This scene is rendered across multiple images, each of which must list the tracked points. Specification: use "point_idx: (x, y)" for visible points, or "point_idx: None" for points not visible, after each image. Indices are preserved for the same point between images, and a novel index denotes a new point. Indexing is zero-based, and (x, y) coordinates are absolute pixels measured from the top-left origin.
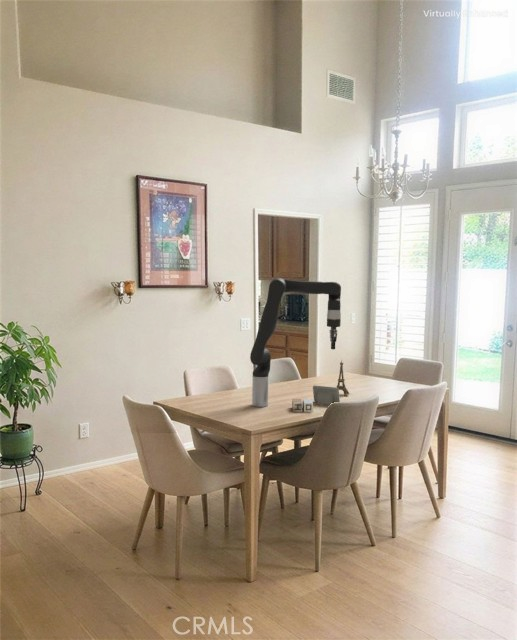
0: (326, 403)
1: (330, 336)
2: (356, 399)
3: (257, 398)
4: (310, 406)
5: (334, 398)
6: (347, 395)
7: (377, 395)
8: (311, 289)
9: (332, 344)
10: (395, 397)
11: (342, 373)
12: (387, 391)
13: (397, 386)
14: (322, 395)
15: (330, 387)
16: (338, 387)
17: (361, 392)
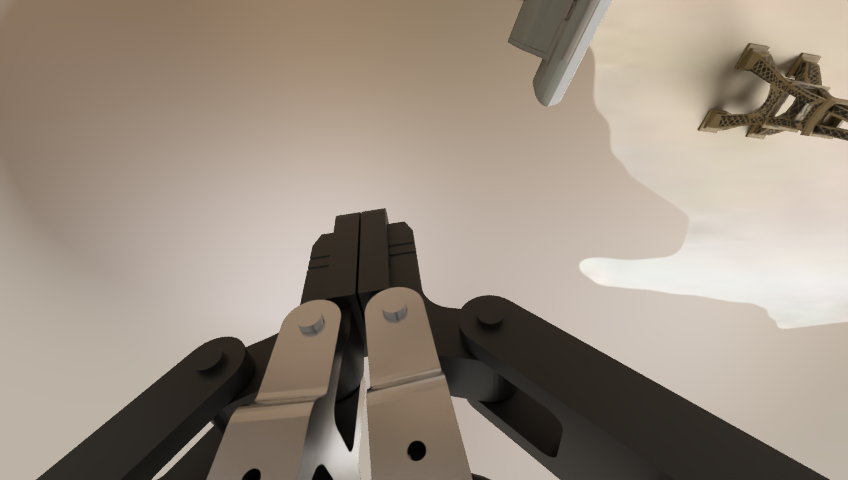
0: (521, 15)
1: (256, 462)
2: (634, 165)
3: None
4: None
5: (541, 68)
6: (709, 128)
7: (691, 239)
8: None
9: (303, 293)
10: (644, 288)
11: None
12: (748, 269)
13: (815, 295)
14: None
15: (564, 54)
16: (781, 92)
17: (766, 185)
